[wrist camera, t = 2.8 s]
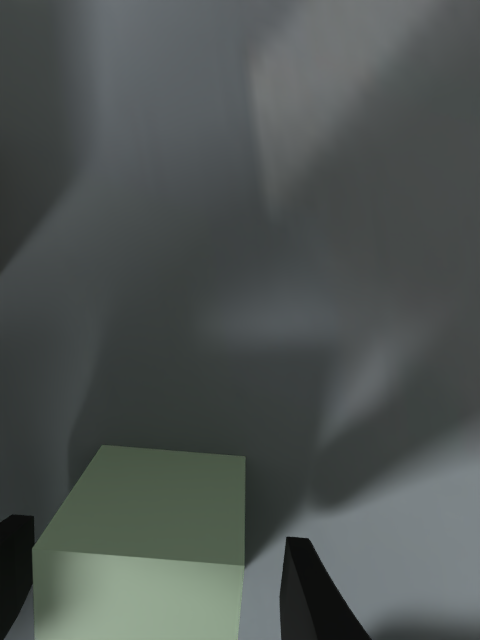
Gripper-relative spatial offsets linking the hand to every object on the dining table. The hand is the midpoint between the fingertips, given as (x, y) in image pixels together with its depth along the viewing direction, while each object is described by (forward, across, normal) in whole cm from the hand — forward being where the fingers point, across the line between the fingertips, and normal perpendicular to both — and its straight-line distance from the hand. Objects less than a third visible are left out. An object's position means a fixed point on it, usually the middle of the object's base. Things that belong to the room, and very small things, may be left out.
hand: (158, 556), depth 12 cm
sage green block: (+2, 0, 0) cm, 2 cm away
